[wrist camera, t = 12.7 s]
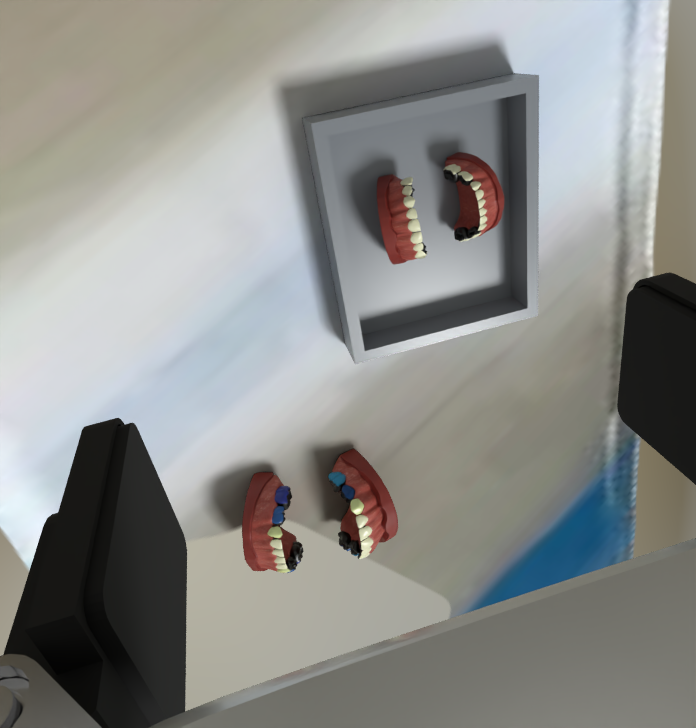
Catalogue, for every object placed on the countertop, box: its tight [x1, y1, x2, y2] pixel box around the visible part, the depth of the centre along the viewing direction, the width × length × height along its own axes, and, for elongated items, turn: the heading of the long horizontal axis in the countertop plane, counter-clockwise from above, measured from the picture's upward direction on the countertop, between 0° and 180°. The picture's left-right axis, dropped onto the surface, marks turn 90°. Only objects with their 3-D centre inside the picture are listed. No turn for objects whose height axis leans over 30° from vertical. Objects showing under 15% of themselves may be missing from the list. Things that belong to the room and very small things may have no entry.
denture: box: [377, 152, 504, 265], centre depth 36 cm, size 6×4×8 cm
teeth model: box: [242, 449, 398, 573], centre depth 46 cm, size 8×6×12 cm
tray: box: [302, 73, 539, 364], centre depth 38 cm, size 16×14×3 cm
